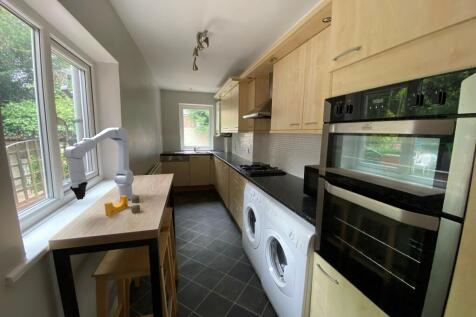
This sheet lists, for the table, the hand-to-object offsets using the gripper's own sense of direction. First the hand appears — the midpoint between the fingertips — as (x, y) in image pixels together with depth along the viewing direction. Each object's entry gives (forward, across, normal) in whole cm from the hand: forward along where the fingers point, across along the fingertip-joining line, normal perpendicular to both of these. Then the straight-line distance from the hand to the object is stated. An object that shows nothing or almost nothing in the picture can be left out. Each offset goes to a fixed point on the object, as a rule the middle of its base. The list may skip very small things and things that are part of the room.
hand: (81, 198), depth 93 cm
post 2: (+9, +8, +23) cm, 26 cm away
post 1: (+9, -8, +23) cm, 26 cm away
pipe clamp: (+10, +1, +14) cm, 17 cm away
